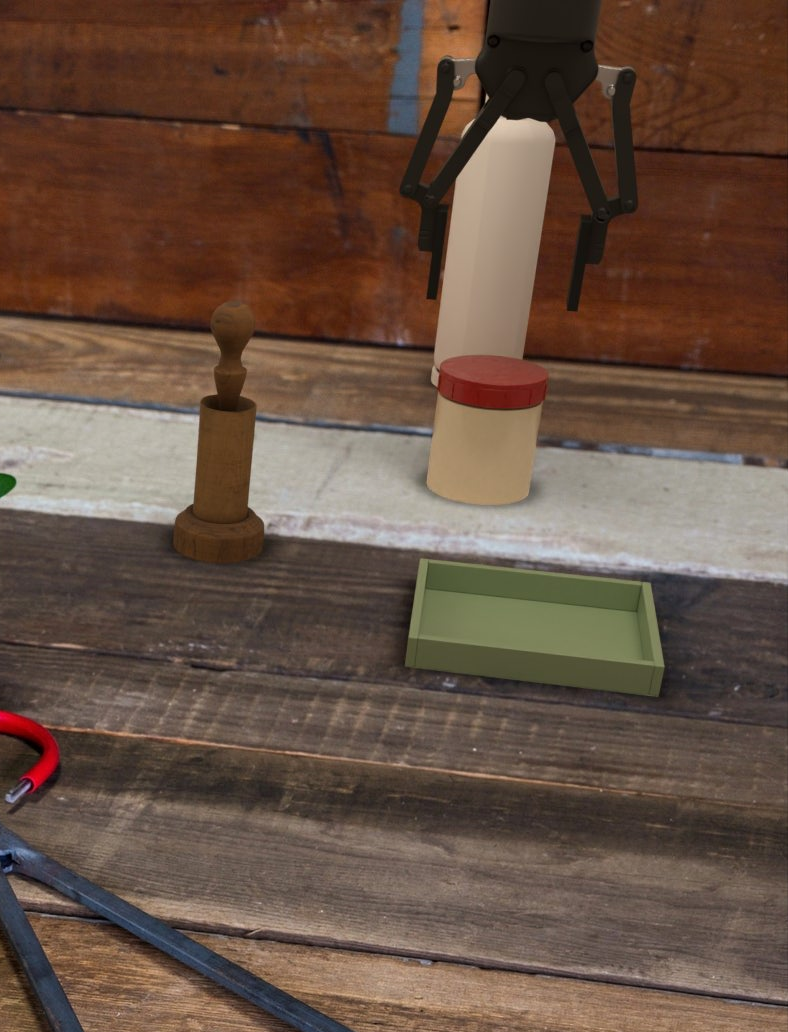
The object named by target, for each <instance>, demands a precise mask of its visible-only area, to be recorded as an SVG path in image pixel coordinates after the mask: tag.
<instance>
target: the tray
mask: <svg viewBox="0 0 788 1032" xmlns="http://www.w3.org/2000/svg"><path fill="white" fill-rule="evenodd" d="M417 568H418V570H417V578H416V582H415V588H414V598H413V604H412V609H411V615H410V617H411V618H410V624H409V631H408V637H407V645H406V652H405V653H406V654H405V659H404V660H405V661H404V667H406V668H412V669H413V668H414V669H420V670H421V669H423V670H429V671H438V672H448V673H454V674H464V675H473V676H481V677H489V678H497V679H506V680H513V681H523V682H531V683H539V684H548V685H556V686H563V687H564V686H565V687H572V688H582V689H588V690H589V689H590V690H599V691H607V692H615V693H622V694H623V693H624V694H633V695H640V696H649V697H657V698H658V697H659V695H660V692H661V687H662V682H663V677H664V674H665V668H666V665H665V661H664V655H663V649H662V643H661V636H660V631H659V625H658V624H659V623H658V617H657V612H656V607H655V600H654V594H653V589H652V583H651V582H648V581H647V582H646V581H636V580H628V579H618V578H609V577H599V576H592V575H591V576H590V575H580V574H572V573H561V572H554V571H553V572H552V571H544V570H536V569H535V570H534V569H525V568H516V567H505V566H497V565H486V564H479V563H478V564H477V563H467V562H460V561H450V560H449V561H448V560H441V559H431V558H429V559H428V558H421V557H420V559H419V561H418V567H417Z"/></svg>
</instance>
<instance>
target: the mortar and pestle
mask: <svg viewBox="0 0 788 1032" xmlns="http://www.w3.org/2000/svg"><path fill="white" fill-rule="evenodd" d="M210 330H211V333H212V336H213V338H214V341H215V342H216V344H217V346H218V348H219V351H220V358H219V362H218V364H217V365H215V366H214V368H213V377H214V383H215V384H214V385H215V389H216V393H217V394H209V395H205V396H203V397H202V398H201V399H200V401H199V416H198V417H199V419H198V433H197V435H198V436H197V451H196V463H195V464H196V466H195V476H194V492H193V502H192V503H191V504H189V505H188V506H187V507H186V508H184V509H183V510H182V511H180V512H179V513H178V514H177V515H176V516H175V519H174V528H173V529H174V530H173V541H172V546H173V548H174V549H175V550H176V551H177V553H179V554H181V555H183V556H184V557H187V558H190V559H191V560H192V559H193V560H195V561H200V562H206V563H214V564H215V563H216V564H231V563H241V562H245V561H248V560H251V559H253V558H255V557H257V556H258V555H260V554H261V553H262V552H263V550H264V539H265V523H264V520H263V519H262V518H261V517H260V516H258V515H257V514H256V512H255V511H254V510H253V509H252V508H251V507H249V497H250V487H251V486H250V485H251V473H252V463H253V453H254V441H255V431H256V419H257V409H258V405H257V403H256V402H255V401H254V400H253V399H251V398H248V397H246V396H242V395H241V394H242V391H243V388H244V385H245V382H246V379H247V375H248V374H247V373H248V369H247V368H246V367H245V366H243V364H242V355H243V353H244V350H245V348H246V347H247V345H248V343H249V342H250V340H251V339H252V337H253V335H254V333H255V330H256V317H255V314H254V311H253V310H252V309H251V307H250V306H249V305H247V304H246V303H244V302H241V301H226V302H224V303H222V304H220V305H218V307H216V308H215V310H214V312H213V313H212V316H211V319H210Z"/></svg>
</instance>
